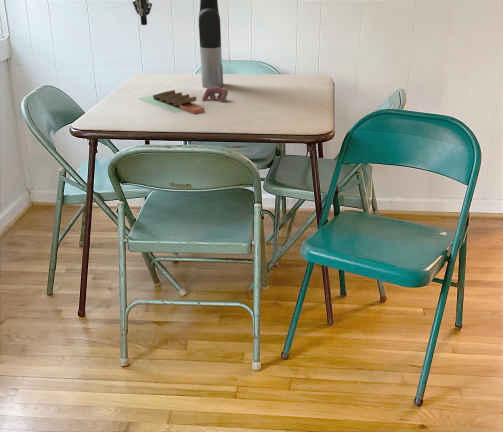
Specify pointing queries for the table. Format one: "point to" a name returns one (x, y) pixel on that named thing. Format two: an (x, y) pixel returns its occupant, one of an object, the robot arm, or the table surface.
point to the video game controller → (215, 90)
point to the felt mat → (163, 104)
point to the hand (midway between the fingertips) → (144, 24)
